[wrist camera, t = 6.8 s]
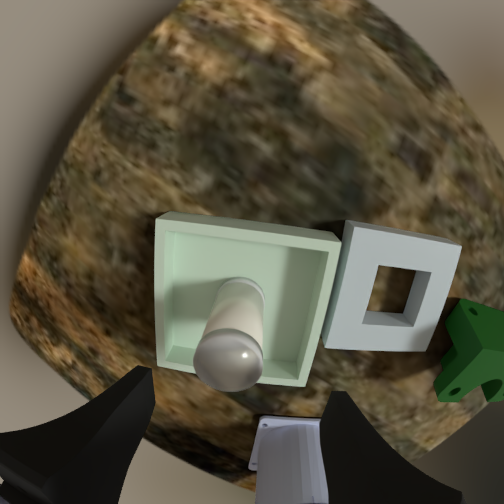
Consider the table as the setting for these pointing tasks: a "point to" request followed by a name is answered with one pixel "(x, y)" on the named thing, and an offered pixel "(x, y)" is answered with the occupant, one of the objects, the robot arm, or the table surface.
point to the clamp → (473, 353)
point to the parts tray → (250, 266)
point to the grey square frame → (362, 279)
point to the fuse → (233, 337)
